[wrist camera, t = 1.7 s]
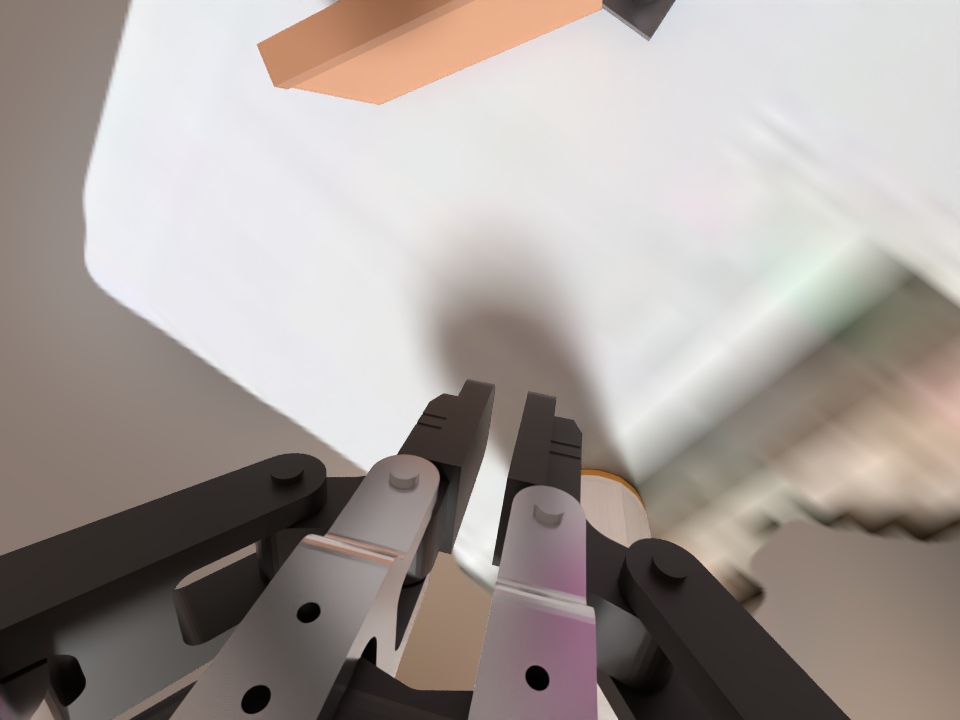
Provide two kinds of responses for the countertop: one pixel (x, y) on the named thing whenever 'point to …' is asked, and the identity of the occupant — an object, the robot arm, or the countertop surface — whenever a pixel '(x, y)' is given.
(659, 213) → the countertop surface
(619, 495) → the cup
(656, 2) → the hinge post
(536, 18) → the gate
